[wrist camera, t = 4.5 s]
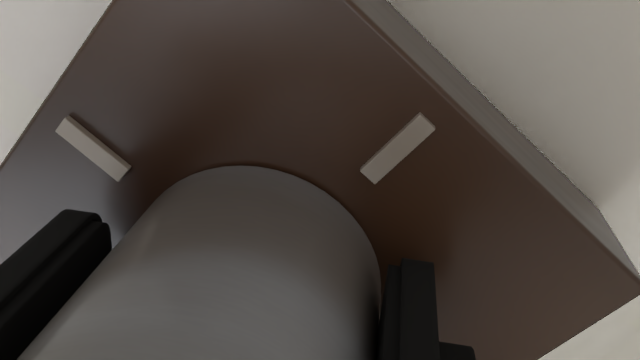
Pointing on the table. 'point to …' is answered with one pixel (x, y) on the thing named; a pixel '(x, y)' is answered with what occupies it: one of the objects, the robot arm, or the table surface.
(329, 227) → the dial
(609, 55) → the table surface
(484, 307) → the panel
